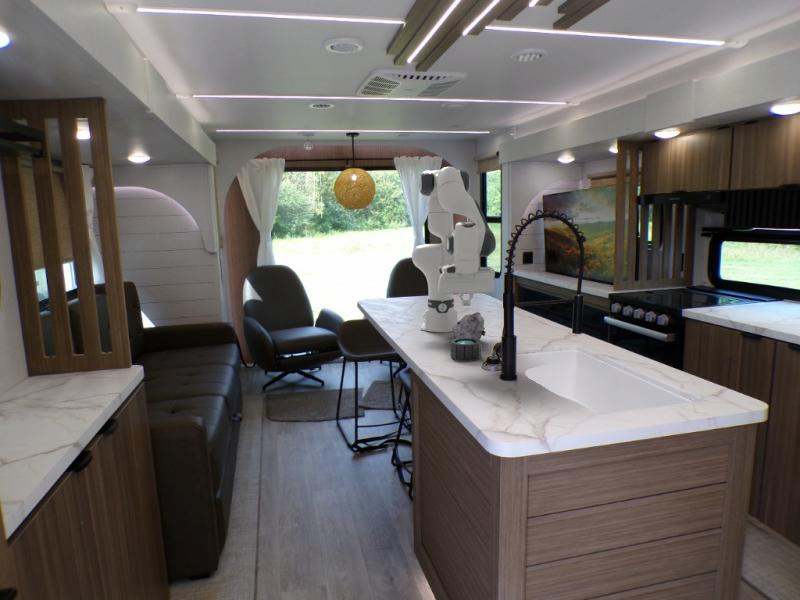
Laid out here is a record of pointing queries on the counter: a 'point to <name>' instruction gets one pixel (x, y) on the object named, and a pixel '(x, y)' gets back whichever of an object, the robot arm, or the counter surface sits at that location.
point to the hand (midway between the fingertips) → (466, 305)
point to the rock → (469, 327)
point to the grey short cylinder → (465, 349)
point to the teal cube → (465, 342)
